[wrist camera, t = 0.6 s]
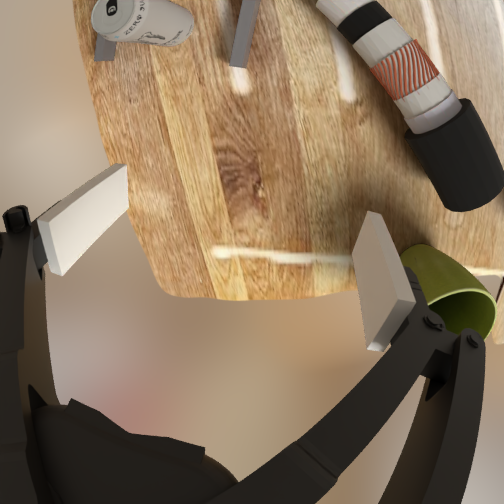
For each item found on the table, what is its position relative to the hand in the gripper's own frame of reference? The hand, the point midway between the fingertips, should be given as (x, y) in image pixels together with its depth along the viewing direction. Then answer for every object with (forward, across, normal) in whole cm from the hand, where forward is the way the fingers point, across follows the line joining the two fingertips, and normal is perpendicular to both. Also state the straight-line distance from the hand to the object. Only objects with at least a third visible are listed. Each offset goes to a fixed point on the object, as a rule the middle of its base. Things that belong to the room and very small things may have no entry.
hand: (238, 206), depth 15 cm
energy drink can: (+25, -15, +12) cm, 32 cm away
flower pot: (+25, +26, -15) cm, 39 cm away
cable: (+26, +13, +11) cm, 31 cm away
